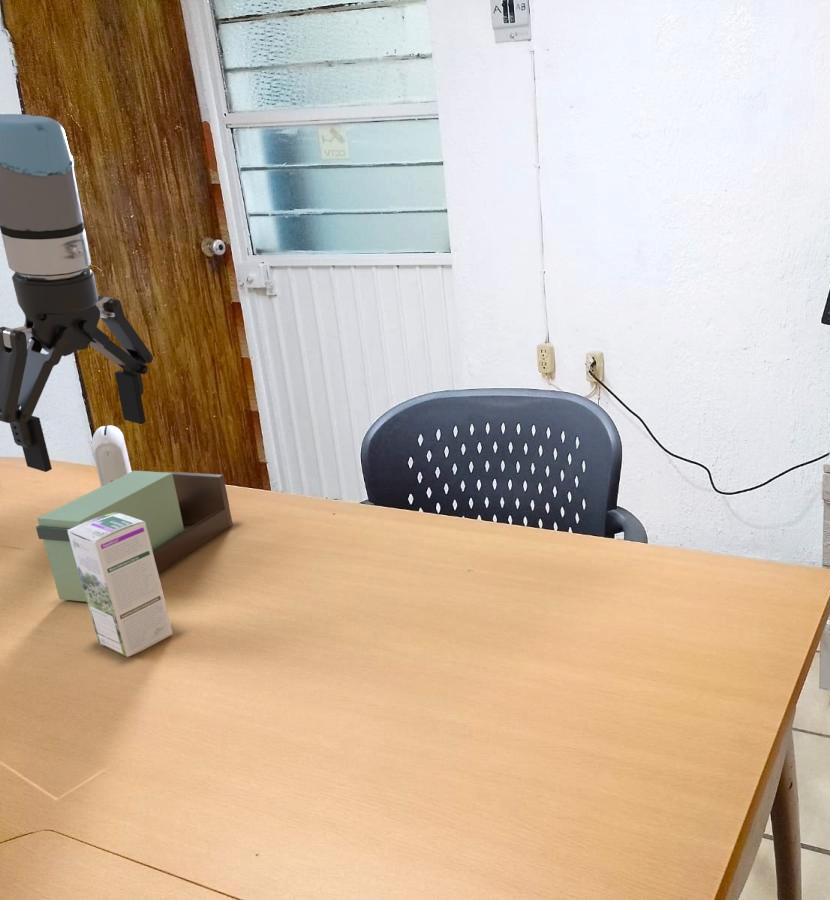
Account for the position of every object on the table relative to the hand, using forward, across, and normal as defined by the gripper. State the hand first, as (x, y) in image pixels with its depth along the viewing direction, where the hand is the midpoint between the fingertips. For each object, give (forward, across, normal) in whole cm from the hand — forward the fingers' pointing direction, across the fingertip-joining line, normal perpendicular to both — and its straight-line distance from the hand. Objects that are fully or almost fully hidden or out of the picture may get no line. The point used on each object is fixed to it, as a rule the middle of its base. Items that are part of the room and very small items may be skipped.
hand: (90, 443), depth 99 cm
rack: (+20, +8, 0) cm, 22 cm away
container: (+19, +1, -1) cm, 19 cm away
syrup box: (+16, -12, -15) cm, 25 cm away
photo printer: (+25, +20, +20) cm, 38 cm away
